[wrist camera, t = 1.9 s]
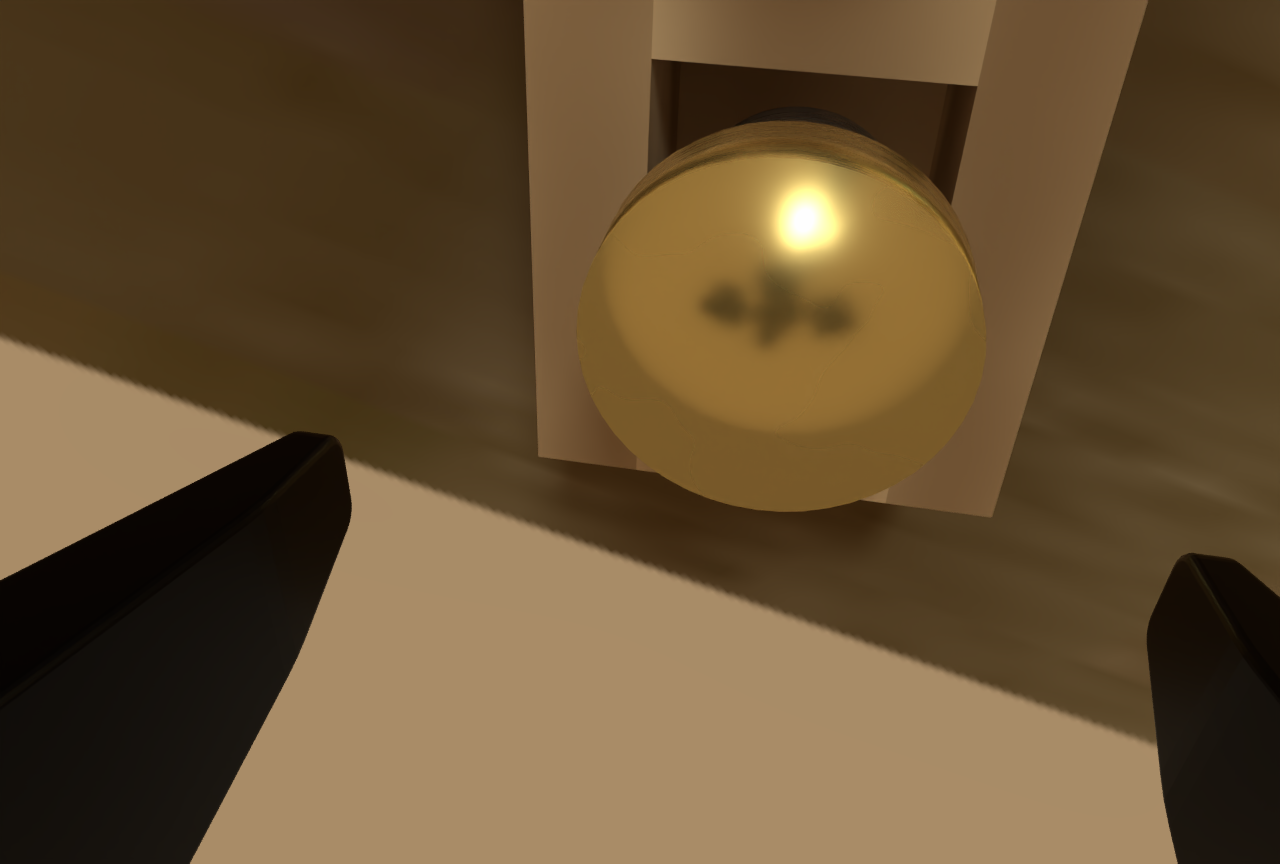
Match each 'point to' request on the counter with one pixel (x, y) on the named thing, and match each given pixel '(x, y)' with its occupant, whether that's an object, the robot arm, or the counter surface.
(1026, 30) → the oak block
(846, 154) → the brass plug
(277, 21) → the counter surface
